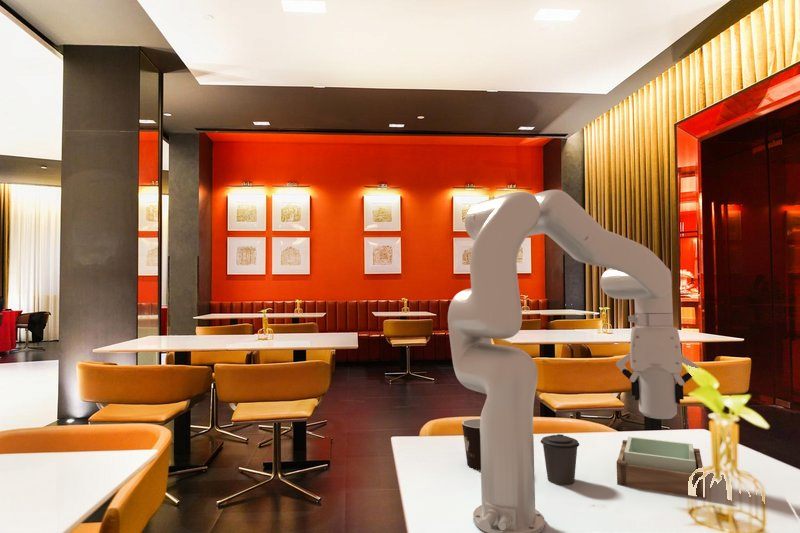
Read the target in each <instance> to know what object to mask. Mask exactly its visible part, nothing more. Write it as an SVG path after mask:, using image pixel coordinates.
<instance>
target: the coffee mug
mask: <svg viewBox="0 0 800 533" xmlns="http://www.w3.org/2000/svg"><path fill="white" fill-rule="evenodd" d="M461 424H462V425H461V426H462V434H463V441H464V448H465V450H464V451H465V458H466V465H467V467H468V466H469V467H468V468H470V469H472V468H473V469H472V470H478V471H479V470H480V471H481V442H480V418H470V419H466V420H463V421H462V422H461Z"/></svg>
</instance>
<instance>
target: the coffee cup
mask: <svg viewBox="0 0 800 533" xmlns="http://www.w3.org/2000/svg"><path fill="white" fill-rule="evenodd" d="M540 443H541V444H542V448H543V453H544V454H543V455H544V462H545V463H544V464H545V470H546V476H547V477H546V478H547V481H548V482H549V483H551V484H554V485H558V486H571V485H573V484H574V483H575V478H576V477H575V476H576V467H577V456H578V447H580V443H579V441H578V440H577V439H576V438H574V437H570V436H567V435H564V434H559V433H558V434H551V435H547V436H543V437H542V438H541V440H540Z"/></svg>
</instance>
